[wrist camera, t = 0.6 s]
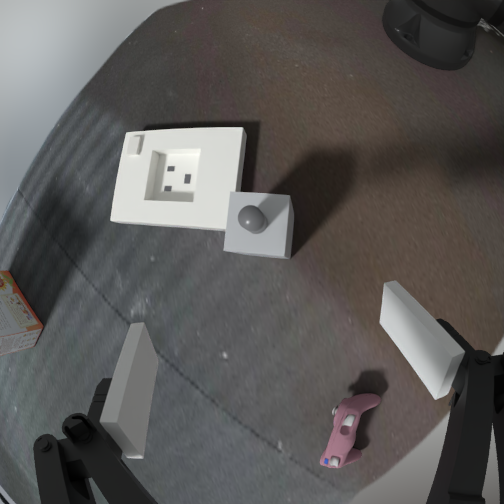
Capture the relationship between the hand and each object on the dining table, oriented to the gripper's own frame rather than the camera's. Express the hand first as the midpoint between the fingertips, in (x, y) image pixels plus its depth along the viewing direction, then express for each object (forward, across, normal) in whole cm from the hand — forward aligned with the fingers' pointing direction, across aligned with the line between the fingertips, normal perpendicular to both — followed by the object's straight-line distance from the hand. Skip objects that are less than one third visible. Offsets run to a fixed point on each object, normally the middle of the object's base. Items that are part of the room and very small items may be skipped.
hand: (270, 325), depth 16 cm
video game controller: (+8, +9, -24) cm, 26 cm away
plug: (+20, +3, -2) cm, 20 cm away
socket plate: (+26, -7, +5) cm, 27 cm away
